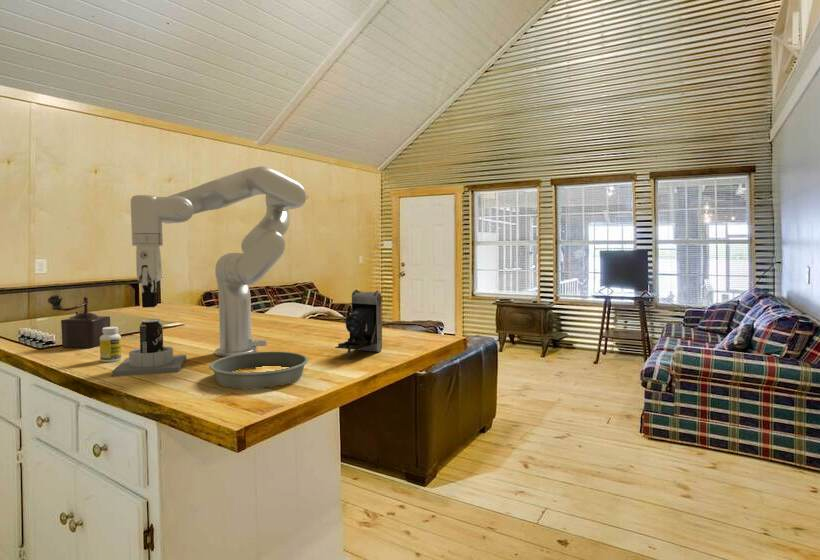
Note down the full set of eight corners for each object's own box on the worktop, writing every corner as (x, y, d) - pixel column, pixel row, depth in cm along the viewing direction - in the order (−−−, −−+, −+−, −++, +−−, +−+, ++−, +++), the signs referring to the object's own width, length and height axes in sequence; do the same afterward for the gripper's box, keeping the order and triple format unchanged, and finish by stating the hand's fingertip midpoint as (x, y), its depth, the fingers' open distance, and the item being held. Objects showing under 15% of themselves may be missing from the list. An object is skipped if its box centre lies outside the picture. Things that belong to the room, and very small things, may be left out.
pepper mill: (82, 341, 175) (80, 291, 174) (112, 342, 174) (110, 291, 173) (46, 351, 160) (43, 295, 158) (79, 352, 159) (76, 296, 157)
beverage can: (164, 358, 144) (163, 317, 143) (162, 363, 139) (161, 320, 138) (142, 360, 142) (140, 319, 141) (139, 365, 137) (137, 321, 136)
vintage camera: (332, 359, 151) (331, 295, 148) (356, 348, 165) (356, 288, 163) (361, 363, 147) (360, 296, 145) (383, 351, 161) (383, 290, 159)
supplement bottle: (111, 362, 144) (110, 329, 144) (96, 361, 145) (94, 328, 145) (126, 358, 150) (124, 326, 149) (110, 357, 151) (109, 325, 150)
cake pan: (295, 362, 146) (295, 347, 146) (320, 383, 124) (320, 365, 124) (205, 372, 135) (204, 356, 135) (215, 397, 113) (214, 377, 113)
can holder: (186, 358, 150) (186, 343, 150) (179, 371, 135) (178, 354, 134) (126, 362, 145) (126, 346, 145) (112, 376, 130) (111, 358, 130)
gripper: (157, 240, 131) (159, 309, 132) (167, 240, 146) (169, 303, 147) (125, 240, 129) (127, 310, 130) (138, 240, 144) (141, 303, 145)
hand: (149, 306), depth 139 cm, fingers closed
